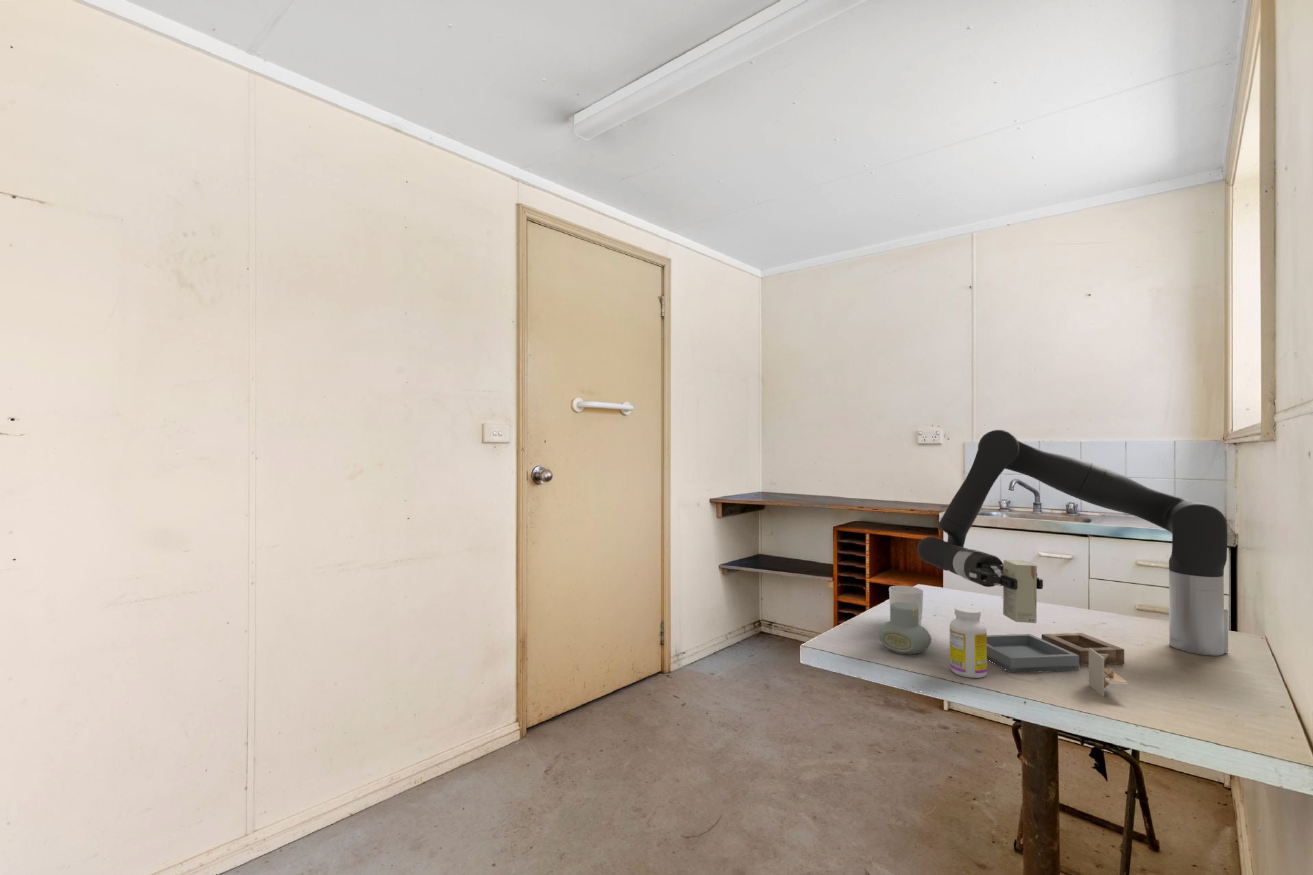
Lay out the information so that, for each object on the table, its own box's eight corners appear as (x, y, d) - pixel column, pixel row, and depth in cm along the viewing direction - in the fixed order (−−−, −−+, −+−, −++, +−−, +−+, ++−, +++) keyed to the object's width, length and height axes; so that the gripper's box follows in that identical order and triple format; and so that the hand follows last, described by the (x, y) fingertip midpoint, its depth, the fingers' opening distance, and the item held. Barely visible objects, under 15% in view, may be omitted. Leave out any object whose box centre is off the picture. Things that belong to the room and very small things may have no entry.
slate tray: (1029, 647, 136) (1029, 633, 136) (1079, 670, 122) (1079, 655, 122) (967, 649, 135) (967, 635, 135) (1010, 673, 121) (1010, 658, 121)
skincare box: (1037, 624, 125) (1038, 566, 125) (1015, 623, 126) (1016, 565, 126) (1022, 615, 132) (1023, 559, 132) (1001, 614, 132) (1002, 558, 132)
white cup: (925, 628, 150) (925, 588, 150) (920, 636, 143) (920, 594, 144) (892, 623, 154) (892, 584, 154) (886, 631, 148) (885, 590, 148)
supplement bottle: (985, 670, 122) (985, 607, 123) (988, 681, 116) (988, 615, 117) (949, 664, 125) (949, 603, 125) (950, 676, 119) (949, 611, 119)
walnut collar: (1082, 646, 137) (1082, 632, 137) (1124, 663, 126) (1124, 649, 126) (1041, 647, 136) (1041, 634, 136) (1080, 665, 125) (1080, 651, 125)
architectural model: (1108, 687, 115) (1108, 648, 115) (1127, 703, 108) (1127, 661, 108) (1088, 686, 115) (1088, 647, 115) (1106, 701, 109) (1106, 660, 109)
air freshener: (936, 651, 133) (936, 606, 133) (922, 661, 127) (922, 614, 127) (887, 640, 141) (887, 597, 141) (872, 649, 135) (872, 604, 135)
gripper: (949, 551, 142) (997, 567, 125) (1005, 550, 144) (1060, 566, 127) (949, 583, 142) (996, 603, 125) (1005, 582, 144) (1060, 601, 127)
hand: (1028, 584), depth 126 cm, fingers closed on skincare box, 5 cm apart
